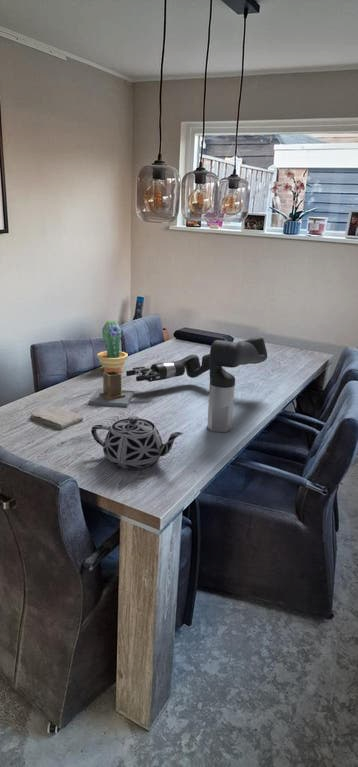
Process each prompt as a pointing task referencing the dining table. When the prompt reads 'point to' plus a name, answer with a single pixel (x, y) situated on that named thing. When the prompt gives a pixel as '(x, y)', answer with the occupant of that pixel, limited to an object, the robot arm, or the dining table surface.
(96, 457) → the dining table surface
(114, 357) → the potted cactus
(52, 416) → the washcloth
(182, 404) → the dining table surface
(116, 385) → the flanged sleeve
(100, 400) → the post plate
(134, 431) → the teapot
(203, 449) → the dining table surface
